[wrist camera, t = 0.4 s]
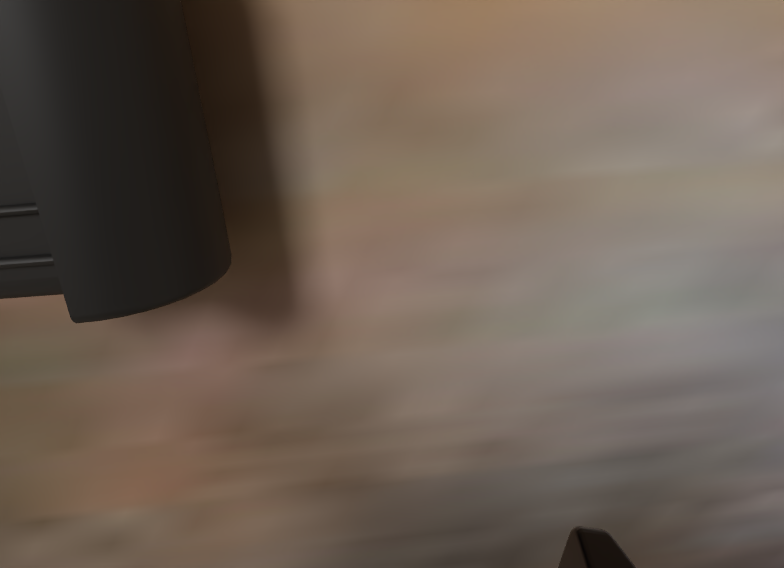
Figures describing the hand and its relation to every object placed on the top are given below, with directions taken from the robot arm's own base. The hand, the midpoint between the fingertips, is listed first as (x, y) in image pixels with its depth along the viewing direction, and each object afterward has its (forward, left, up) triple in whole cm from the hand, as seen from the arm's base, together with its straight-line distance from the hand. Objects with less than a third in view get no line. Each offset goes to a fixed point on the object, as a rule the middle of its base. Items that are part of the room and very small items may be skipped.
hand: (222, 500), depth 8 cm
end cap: (+4, +7, -14) cm, 17 cm away
